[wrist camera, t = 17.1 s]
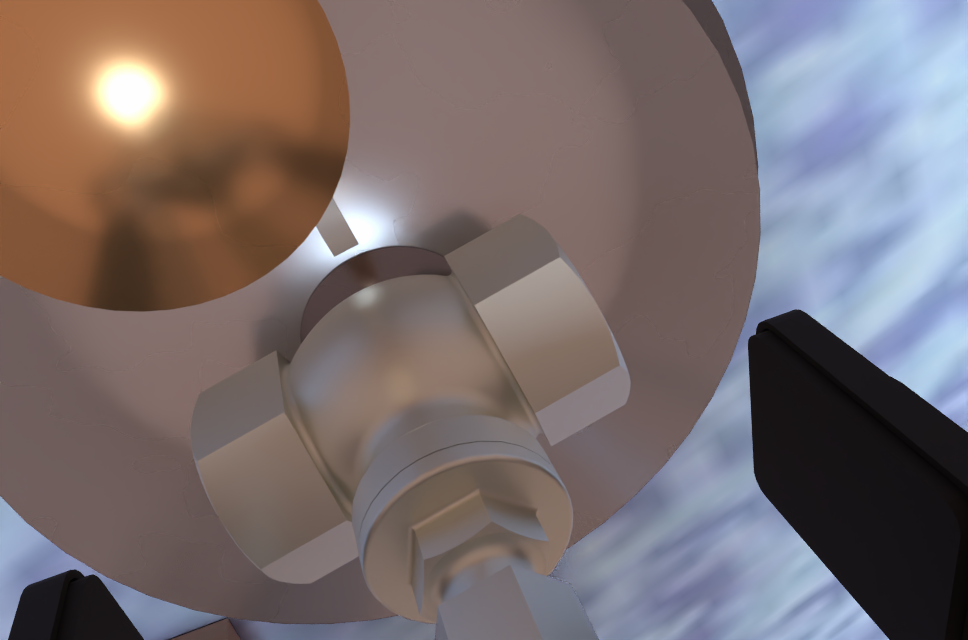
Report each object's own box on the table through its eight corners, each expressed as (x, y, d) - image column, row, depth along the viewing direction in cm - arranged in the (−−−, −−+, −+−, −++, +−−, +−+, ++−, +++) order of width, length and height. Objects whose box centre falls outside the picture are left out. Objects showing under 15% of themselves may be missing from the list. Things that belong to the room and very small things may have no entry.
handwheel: (816, -78, 15) (1438, -31, 7) (643, 543, 23) (865, 900, 15) (-173, -223, 11) (-1332, -511, 3) (12, 619, 18) (-160, 1201, 10)
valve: (135, 295, 14) (-99, 1470, 4) (470, 109, 14) (1168, 722, 4) (330, 525, 17) (491, 1436, 7) (593, 375, 17) (1118, 1057, 7)
